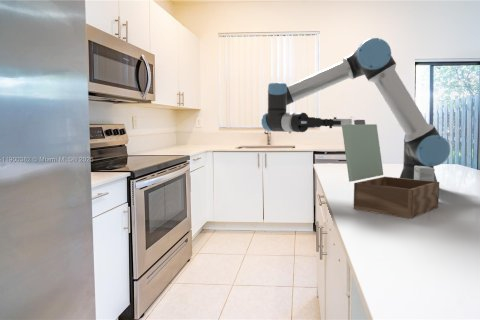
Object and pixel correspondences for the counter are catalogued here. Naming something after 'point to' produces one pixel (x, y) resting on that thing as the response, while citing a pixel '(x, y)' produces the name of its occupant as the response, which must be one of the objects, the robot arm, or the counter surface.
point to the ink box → (424, 173)
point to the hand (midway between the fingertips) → (350, 122)
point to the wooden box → (396, 196)
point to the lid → (362, 150)
